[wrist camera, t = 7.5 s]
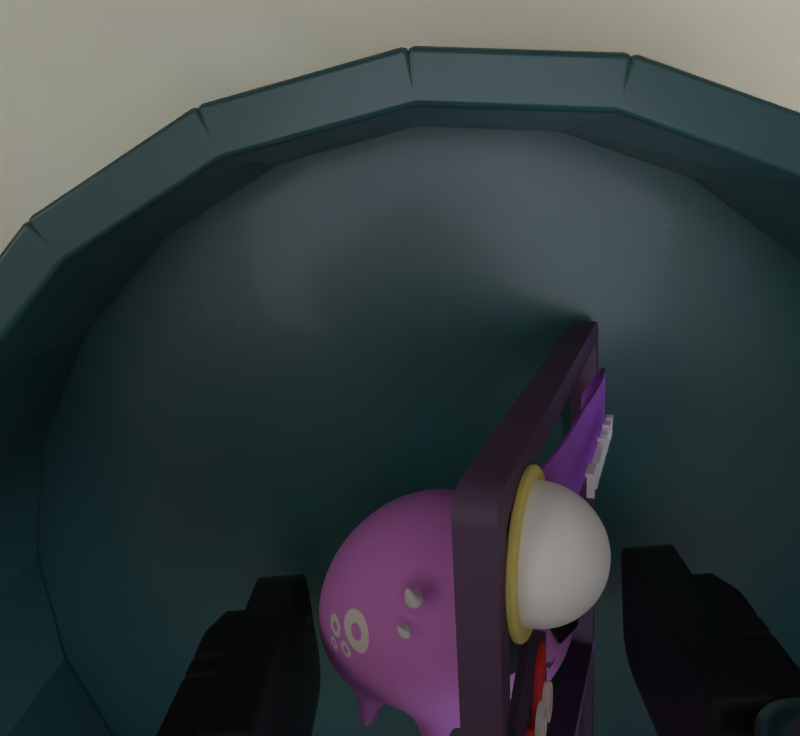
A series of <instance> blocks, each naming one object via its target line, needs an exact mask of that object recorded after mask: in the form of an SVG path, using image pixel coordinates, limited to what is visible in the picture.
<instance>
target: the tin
mask: <svg viewBox="0 0 800 736" xmlns="http://www.w3.org/2000/svg"><path fill="white" fill-rule="evenodd" d="M572 321H595V322H598V372H599V371H600V370H601V368H605V421H606V415H613V422H612V436H611V441H610V445H609V448H608V452H607V455H606V456H605V461H604V465H603V467H602V472H601V477H599V483H598V488H597V489H596V514H597V515H598V517H599V518H600V520H601V522H602V524H603V526H604V528H605V530H606V533H607V536H608V540H609V545H610V552H611V564H610V572H609V576H608V580H607V583H606V585H605V588H604V590H603V592H602V594H601V595H600V597H599V598H598V600H597V601H596V602H595V635H594V639H595V648H594V714H593V736H658V735H657V733H656V731H655V728H654V726H653V723H652V721H651V719H650V716H649V714H648V712H647V709H646V707H645V704H644V702H643V700H642V697H641V695H640V693H639V690H638V688H637V685H636V683H635V681H634V678H633V676H632V673H631V670H630V667H629V663H628V659H627V655H626V649H625V643H624V633H623V606H622V576H621V554H622V550H623V548H628V547H640V546H652V545H664V544H671V545H673V546H674V548H675V549H676V550H677V552H678V553H679V555H680V556H681V558H682V559H683V561H684V562H685V564H686V565H687V567H688V568H689V570H690V571H691V573H692V574H704V573H713V574H714V575H716V576H717V577H719V578H721V579H722V580H724V581H725V582H727V583H728V584H730V585H732V586H733V587H735V588H736V589H738V590H740V592H741V593H742V594H743V596H744V597H745V598H746V600H747V601H748V602H749V603H750V605H751V606H752V607H753V609H754V610H755V611H756V613H757V617H760V618H761V619H762V620H763V622H764V623H765V624H766V626H767V627H768V628H769V630H770V631H771V635H772V636H775V637H776V639H777V640H778V641H779V643H780V644H781V645H782V647H783V648H784V649H785V651H786V652H787V653H788V654H789V656H790V657H791V658H792V660H793V661H794V662H795V664H796V665H797V666H798V668H799V669H800V113H799V112H796V111H793V110H791V109H788V108H785V107H782V106H780V105H777V104H774V103H771V102H768V101H766V100H763V99H760V98H757V97H755V96H752V95H749V94H746V93H743V92H741V91H738V90H735V89H732V88H729V87H727V86H724V85H721V84H718V83H716V82H713V81H710V80H707V79H704V78H702V77H699V76H696V75H693V74H691V73H688V72H685V71H682V70H679V69H677V68H674V67H671V66H668V65H665V64H663V63H660V62H657V61H654V60H652V59H649V58H646V57H643V56H640V55H633V56H631V57H630V55H629V54H627V53H622V52H590V51H559V50H527V49H495V48H463V47H432V46H414V47H411V48H410V49H409V51H408V50H407V48H402V47H401V48H398V49H394V50H391V51H387V52H383V53H380V54H376V55H373V56H369V57H366V58H362V59H359V60H355V61H352V62H348V63H345V64H341V65H338V66H334V67H331V68H327V69H323V70H320V71H316V72H313V73H309V74H306V75H302V76H299V77H295V78H292V79H288V80H285V81H281V82H278V83H274V84H271V85H267V86H264V87H260V88H256V89H253V90H249V91H246V92H242V93H239V94H235V95H232V96H228V97H225V98H221V99H218V100H214V101H211V102H207V103H204V104H202V105H201V106H199V109H198V108H193V109H191V110H189V111H188V112H186V113H185V114H183V115H182V116H180V117H179V118H177V119H176V120H174V121H173V122H171V123H170V124H168V125H167V126H165V127H164V128H162V129H161V130H159V131H158V132H156V133H155V134H153V135H152V136H150V137H149V138H147V139H146V140H144V141H143V142H141V143H140V144H138V145H137V146H135V147H134V148H132V149H131V150H130V151H128V152H127V153H125V154H124V155H122V156H121V157H119V158H118V159H116V160H115V161H113V162H112V163H110V164H109V165H107V166H106V167H104V168H103V169H101V170H100V171H98V172H97V173H95V174H94V175H92V176H91V177H89V178H88V179H86V180H85V181H83V182H82V183H80V184H79V185H77V186H76V187H74V188H73V189H71V190H70V191H68V192H67V193H65V194H64V195H62V196H61V197H59V198H58V199H56V200H55V201H53V202H52V203H50V204H49V205H47V206H46V207H44V208H43V209H41V210H40V211H38V212H37V213H35V214H34V215H32V217H31V218H30V219H29V222H27V223H25V224H24V225H23V226H22V227H21V229H20V230H19V231H18V232H17V234H16V235H15V236H14V238H13V239H12V240H11V242H10V243H9V244H8V246H7V247H6V248H5V249H4V251H3V252H2V253H1V255H0V736H156V735H157V733H158V731H159V729H160V727H161V725H162V722H163V720H164V718H165V716H166V714H167V712H168V710H169V708H170V705H171V703H172V701H173V699H174V697H175V695H176V693H177V691H178V688H179V686H180V684H181V682H182V680H185V674H186V671H187V669H188V667H189V665H190V663H191V661H192V660H194V654H195V652H196V650H197V648H198V646H199V644H200V642H201V639H202V637H203V635H204V633H205V632H206V631H207V630H208V629H209V628H210V627H211V626H212V625H213V624H214V623H215V622H216V621H217V620H218V619H219V618H220V617H221V616H222V615H224V614H225V613H226V612H227V611H236V610H245V608H246V606H247V603H248V601H249V598H250V596H251V593H252V591H253V588H254V586H255V583H256V581H257V579H258V578H260V577H271V576H283V575H295V574H304V575H305V577H306V580H307V583H308V588H309V594H310V601H311V607H312V613H313V619H314V625H315V632H316V638H317V644H318V650H319V657H320V672H321V681H320V695H319V701H318V706H317V711H316V716H315V722H314V727H313V732H312V736H421V733H420V730H419V728H418V726H417V724H416V722H415V721H414V719H413V718H412V717H411V716H410V715H408V714H407V713H405V712H403V711H401V710H399V709H397V708H395V707H392V706H390V705H387V704H384V705H383V706H382V708H381V709H380V711H379V713H378V715H377V717H376V718H375V720H374V721H373V722H372V723H371V724H370V725H369V726H364V725H363V724H362V723H361V719H360V713H359V707H358V701H357V697H356V694H355V691H354V690H353V688H352V687H351V686H350V685H349V684H348V683H347V682H346V681H345V680H344V679H343V678H342V677H341V676H340V675H339V674H338V673H337V671H336V670H335V669H334V667H333V666H332V664H331V662H330V661H329V659H328V656H327V654H326V652H325V649H324V646H323V643H322V639H321V634H320V628H319V603H320V596H321V591H322V587H323V583H324V580H325V577H326V574H327V572H328V569H329V567H330V565H331V563H332V561H333V559H334V557H335V555H336V553H337V551H338V550H339V548H340V547H341V545H342V544H343V543H344V541H345V540H346V539H347V537H348V536H349V535H350V534H351V533H352V531H353V530H354V529H355V528H356V527H357V526H358V525H359V524H360V523H361V522H362V521H364V520H365V519H366V518H367V517H368V516H369V515H371V514H372V513H373V512H375V511H376V510H378V509H379V508H381V507H382V506H384V505H386V504H387V503H389V502H391V501H393V500H395V499H397V498H399V497H402V496H404V495H407V494H410V493H414V492H418V491H423V490H430V489H453V490H456V487H457V484H458V482H459V480H460V479H461V477H462V476H463V475H464V473H465V472H466V470H467V469H468V467H469V466H470V465H471V463H472V462H473V460H474V459H475V458H476V456H477V455H478V453H479V452H480V451H481V449H482V448H483V446H484V445H485V444H486V442H487V441H488V439H489V438H490V437H491V435H492V434H493V432H494V431H495V430H496V428H497V427H498V425H499V424H500V423H501V421H502V420H503V418H504V417H505V415H506V414H507V413H508V411H509V410H510V408H511V407H512V406H513V404H514V403H515V401H516V400H517V399H518V397H519V396H520V394H521V393H522V392H523V390H524V389H525V387H526V386H527V385H528V383H529V382H530V380H531V379H532V378H533V376H534V375H535V373H536V372H537V370H538V369H539V368H540V366H541V365H542V363H543V362H544V361H545V359H546V358H547V356H548V355H549V354H550V352H551V351H552V349H553V348H554V347H555V345H556V344H557V342H558V341H559V340H560V338H561V337H562V335H563V334H564V333H565V331H566V330H567V328H568V327H569V325H570V324H571V323H572ZM570 428H571V393H570V395H569V397H568V399H567V401H566V403H565V405H564V407H563V409H562V411H561V413H560V415H559V417H558V419H557V421H556V423H555V425H554V427H553V429H552V431H551V433H550V435H549V437H548V439H547V441H546V443H545V445H544V447H543V449H542V451H541V453H540V455H539V457H538V459H537V461H536V463H535V465H538V466H539V467H541V466H542V465H543V464H544V463H545V462H546V461H547V459H548V458H549V457H550V456H551V455H552V454H553V452H554V451H555V450H556V449H557V447H558V446H559V445H560V443H561V442H562V441H563V439H564V438H565V436H566V435H567V433H568V432H569V430H570ZM567 651H568V650H567ZM566 656H567V653H566V655H565V657H564V659H563V661H562V663H561V665H560V667H559V669H558V670H557V672H556V673H555V675H554V676H553V678H552V679H551V680H550V682H552V686H553V703H552V712H553V708H554V704H555V700H556V696H557V692H558V688H559V684H560V680H561V676H562V672H563V668H564V664H565V660H566ZM551 716H552V714H551ZM549 725H550V723H548V722H547V728H546V736H547V733H548V729H549ZM449 736H461V732H460V728H454V729H453V730H452V731H451V733H450V735H449Z"/></svg>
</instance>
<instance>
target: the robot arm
mask: <svg viewBox="0 0 800 736" xmlns="http://www.w3.org/2000/svg"><path fill="white" fill-rule="evenodd" d="M621 576H622V606H623V633H624V643H625V649H626V655H627V659H628V663H629V667H630V670H631V673H632V676H633V678H634V681H635V683H636V685H637V688H638V690H639V693H640V695H641V697H642V700H643V702H644V704H645V707H646V709H647V712H648V714H649V716H650V719H651V721H652V723H653V726H654V728H655V731H656V733H657V735H658V736H800V669H799V668H798V666H797V665H796V664H795V662H794V661H793V660H792V658H791V657H790V656H789V654H788V653H787V652H786V651H785V649H784V648H783V647H782V645H781V644H780V643H779V641H778V640H777V639H776V637H775V636H772V635H771V631H770V630H769V628H768V627H767V626H766V624H765V623H764V622H763V620H762V619H761V618H760V617H757V613H756V611H755V610H754V609H753V607H752V606H751V605H750V603H749V602H748V601H747V600H746V598H745V597H744V596H743V594H742V593H741V592H740V590H738V589H736V588H735V587H733V586H732V585H730V584H728V583H727V582H725V581H724V580H722V579H721V578H719V577H717V576H716V575H714V574H713V573H704V574H692V573H691V571H690V570H689V568H688V567H687V565H686V564H685V562H684V561H683V559H682V558H681V556H680V555H679V553H678V552H677V550H676V549H675V548H674V546H673V545H671V544H664V545H652V546H640V547H628V548H623V550H622V554H621ZM320 681H321V672H320V657H319V650H318V644H317V638H316V632H315V625H314V619H313V613H312V607H311V601H310V594H309V588H308V583H307V580H306V577H305V575H304V574H295V575H283V576H271V577H260V578H258V579H257V581H256V583H255V586H254V588H253V591H252V593H251V596H250V598H249V601H248V603H247V606H246V608H245V610H236V611H227V612H226V613H225V614H224V615H222V616H221V617H220V618H219V619H218V620H217V621H216V622H215V623H214V624H213V625H212V626H211V627H210V628H209V629H208V630H207V631H206V632H205V633H204V635H203V637H202V639H201V642H200V644H199V646H198V648H197V650H196V652H195V654H194V660H192V661H191V663H190V665H189V667H188V669H187V671H186V674H185V680H182V682H181V684H180V686H179V688H178V691H177V693H176V695H175V697H174V699H173V701H172V703H171V705H170V708H169V710H168V712H167V714H166V716H165V718H164V720H163V722H162V725H161V727H160V729H159V731H158V733H157V735H156V736H312V732H313V727H314V722H315V716H316V711H317V706H318V701H319V695H320Z"/></svg>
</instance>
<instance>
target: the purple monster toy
mask: <svg viewBox="0 0 800 736" xmlns="http://www.w3.org/2000/svg"><path fill="white" fill-rule="evenodd" d="M570 393H571V428H570V430H569V432H568V433H567V435H566V436H565V438H564V439H563V441H562V442H561V443H560V445H559V446H558V447H557V449H556V450H555V451H554V452H553V454H552V455H551V456H550V457H549V458H548V459H547V461H546V462H545V463H544V464H543V465H542V466H541V467H539V466H538V465H535V463H536V461H537V459H538V457H539V455H540V453H541V451H542V449H543V447H544V445H545V443H546V441H547V439H548V437H549V435H550V433H551V431H552V429H553V427H554V425H555V423H556V421H557V419H558V417H559V415H560V413H561V411H562V409H563V407H564V405H565V403H566V401H567V399H568V397H569V395H570ZM612 422H613V415H606V421H605V368H601V370H600V371H599V372H598V322H595V321H572V323H571V324H570V325H569V327H568V328H567V330H566V331H565V333H564V334H563V335H562V337H561V338H560V340H559V341H558V342H557V344H556V345H555V347H554V348H553V349H552V351H551V352H550V354H549V355H548V356H547V358H546V359H545V361H544V362H543V363H542V365H541V366H540V368H539V369H538V370H537V372H536V373H535V375H534V376H533V378H532V379H531V380H530V382H529V383H528V385H527V386H526V387H525V389H524V390H523V392H522V393H521V394H520V396H519V397H518V399H517V400H516V401H515V403H514V404H513V406H512V407H511V408H510V410H509V411H508V413H507V414H506V415H505V417H504V418H503V420H502V421H501V423H500V424H499V425H498V427H497V428H496V430H495V431H494V432H493V434H492V435H491V437H490V438H489V439H488V441H487V442H486V444H485V445H484V446H483V448H482V449H481V451H480V452H479V453H478V455H477V456H476V458H475V459H474V460H473V462H472V463H471V465H470V466H469V467H468V469H467V470H466V472H465V473H464V475H463V476H462V477H461V479H460V480H459V482H458V484H457V487H456V490H453V489H430V490H423V491H418V492H414V493H410V494H407V495H404V496H402V497H399V498H397V499H395V500H393V501H391V502H389V503H387V504H386V505H384V506H382V507H381V508H379V509H378V510H376V511H375V512H373V513H372V514H371V515H369V516H368V517H367V518H366V519H365V520H364V521H362V522H361V523H360V524H359V525H358V526H357V527H356V528H355V529H354V530H353V531H352V533H351V534H350V535H349V536H348V537H347V539H346V540H345V541H344V543H343V544H342V545H341V547H340V548H339V550H338V551H337V553H336V555H335V557H334V559H333V561H332V563H331V565H330V567H329V569H328V572H327V574H326V577H325V580H324V583H323V587H322V591H321V596H320V603H319V628H320V634H321V639H322V643H323V646H324V649H325V652H326V654H327V656H328V659H329V661H330V662H331V664H332V666H333V667H334V669H335V670H336V671H337V673H338V674H339V675H340V676H341V677H342V678H343V679H344V680H345V681H346V682H347V683H348V684H349V685H350V686H351V687H352V688H353V690H354V691H355V694H356V697H357V701H358V707H359V713H360V719H361V723H362V724H363V725H364V726H369V725H370V724H371V723H372V722H373V721H374V720H375V718H376V717H377V715H378V713H379V711H380V709H381V708H382V706H383V705H384V704H387V705H390V706H392V707H395V708H397V709H399V710H401V711H403V712H405V713H407V714H408V715H410V716H411V717H412V718H413V719H414V721H415V722H416V724H417V726H418V728H419V730H420V733H421V736H449V735H450V733H451V731H452V730H453V729H454V728H460V732H461V736H546V728H547V722H548V723H550V725H549V729H548V733H547V736H593V714H594V648H595V639H594V635H595V602H596V601H597V600H598V598H599V597H600V595H601V594H602V592H603V590H604V588H605V585H606V583H607V580H608V576H609V572H610V564H611V552H610V545H609V540H608V536H607V533H606V530H605V528H604V526H603V524H602V522H601V520H600V518H599V517H598V515H597V514H596V489H597V488H598V483H599V477H601V472H602V467H603V465H604V461H605V456H606V455H607V452H608V448H609V445H610V441H611V436H612ZM567 650H568V651H567ZM566 653H567V656H566V660H565V664H564V668H563V672H562V676H561V680H560V684H559V688H558V692H557V696H556V700H555V704H554V708H553V712H552V703H553V686H552V682H550V680H551V679H552V678H553V676H554V675H555V673H556V672H557V670H558V669H559V667H560V665H561V663H562V661H563V659H564V657H565V655H566ZM551 714H552V716H551Z"/></svg>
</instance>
